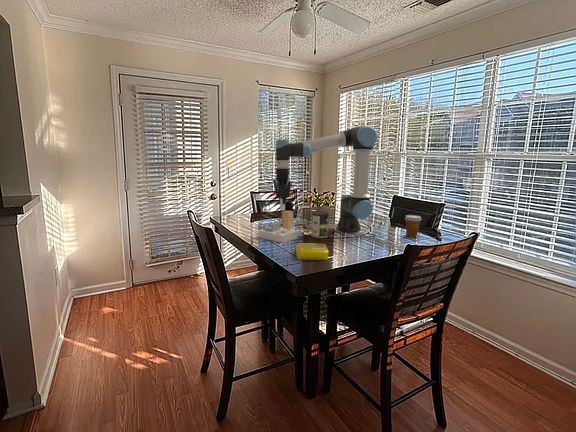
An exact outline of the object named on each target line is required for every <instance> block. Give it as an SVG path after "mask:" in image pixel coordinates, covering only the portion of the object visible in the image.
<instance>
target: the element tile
mask: <svg viewBox="0 0 576 432" xmlns="http://www.w3.org/2000/svg"><path fill="white" fill-rule="evenodd" d="M295 253H296V254H295V255H296V259H297V260H300V261H301V260H302V261H304V260H305V261H306V260H307V261H309V260H310V261H326V260H329V249H328V247H327V245H326V244H325V243H318V242H317V243H313V242H312V243H311V242H310V243H307V242H302V243H301V242H297V243H296V244H295Z"/></svg>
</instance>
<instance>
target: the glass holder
mask: <svg viewBox="0 0 576 432" xmlns="http://www.w3.org/2000/svg"><path fill="white" fill-rule="evenodd" d="M297 206H298V204H296V205H295V207H294V203H293V202H289V201H288V202H287V201H286V204H285V209H284V210H281V222H280V226H282V227H283V212H284V211H291V212H292V227H293V226H294V221H295V220H296V219H297V218H298V217H299V216H300V215H301V212H302V209H299V210H300V211H299V213H298V214H297V216H296V217H295V218H294V212H295V211H296V209H297ZM299 206H300V208H302V206H301V205H299Z"/></svg>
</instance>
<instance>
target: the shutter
mask: <svg viewBox="0 0 576 432" xmlns="http://www.w3.org/2000/svg"><path fill="white" fill-rule="evenodd" d="M280 228H281V222H280V221H278V222H274V223H271V225H269V226H265V227H263V229H264V230H269V231H275V230H279V229H280Z"/></svg>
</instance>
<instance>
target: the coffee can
mask: <svg viewBox="0 0 576 432" xmlns="http://www.w3.org/2000/svg"><path fill="white" fill-rule="evenodd" d="M329 217H330V213H329V212H328V211H318V210H316V211H312V212H311V233H310V234H311V235H310V236H311V237H313V238H319V239H324V238H328V236H329V223H330V222H329V220H330V218H329Z"/></svg>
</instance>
